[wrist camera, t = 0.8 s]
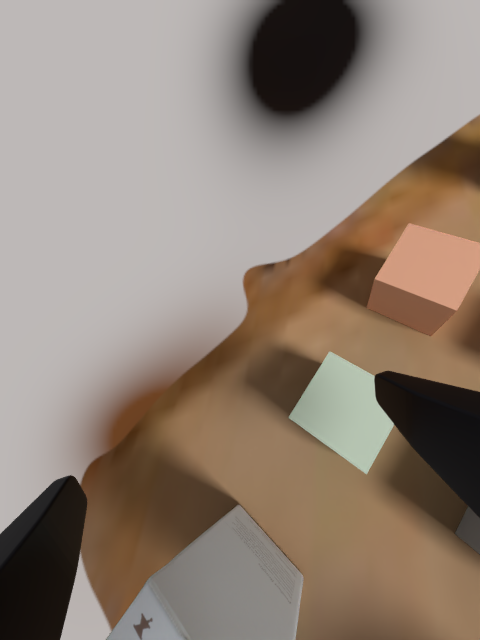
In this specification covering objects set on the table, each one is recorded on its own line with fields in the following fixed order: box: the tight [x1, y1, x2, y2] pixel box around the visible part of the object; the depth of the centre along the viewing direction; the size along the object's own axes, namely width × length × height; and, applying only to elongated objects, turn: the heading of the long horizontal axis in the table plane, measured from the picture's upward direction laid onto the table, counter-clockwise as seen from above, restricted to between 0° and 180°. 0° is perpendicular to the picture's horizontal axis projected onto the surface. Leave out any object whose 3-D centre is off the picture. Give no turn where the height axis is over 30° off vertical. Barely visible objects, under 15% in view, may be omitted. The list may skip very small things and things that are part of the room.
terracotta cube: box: [367, 223, 480, 336], centre depth 20 cm, size 5×5×5 cm
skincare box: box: [106, 505, 303, 640], centre depth 13 cm, size 6×4×12 cm
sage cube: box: [288, 352, 394, 474], centre depth 18 cm, size 5×5×5 cm
